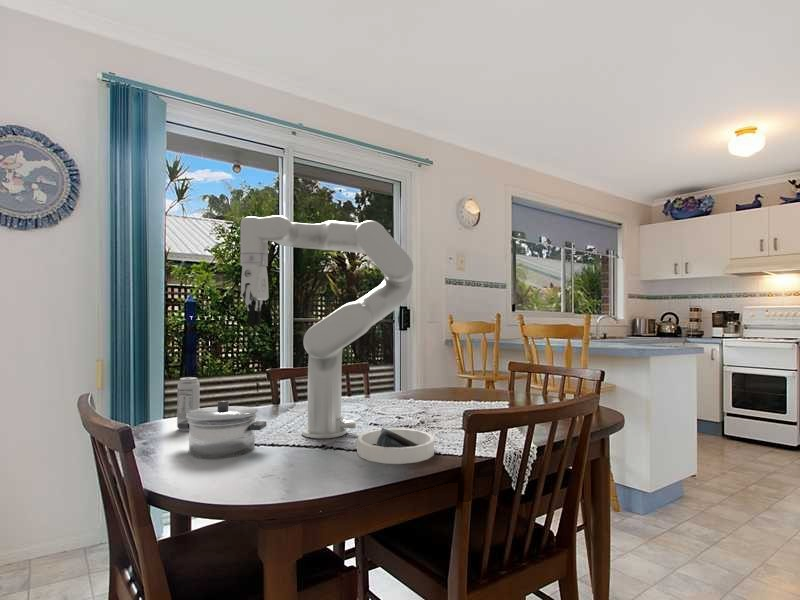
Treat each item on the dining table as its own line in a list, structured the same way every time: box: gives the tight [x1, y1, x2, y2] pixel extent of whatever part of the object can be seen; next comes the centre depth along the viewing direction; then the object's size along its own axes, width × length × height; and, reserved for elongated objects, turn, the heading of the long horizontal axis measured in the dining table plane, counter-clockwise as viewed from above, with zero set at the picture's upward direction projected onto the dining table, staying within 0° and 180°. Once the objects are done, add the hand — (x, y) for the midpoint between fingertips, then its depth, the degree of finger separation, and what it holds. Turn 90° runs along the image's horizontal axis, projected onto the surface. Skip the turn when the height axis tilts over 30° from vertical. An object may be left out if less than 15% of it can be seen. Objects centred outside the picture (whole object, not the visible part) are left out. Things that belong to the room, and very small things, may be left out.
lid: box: [186, 400, 259, 421], centre depth 127 cm, size 17×18×4 cm
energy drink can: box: [176, 376, 201, 432], centre depth 147 cm, size 6×6×15 cm
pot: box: [177, 415, 267, 460], centre depth 127 cm, size 21×18×8 cm
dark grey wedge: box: [375, 427, 419, 448], centre depth 122 cm, size 10×7×12 cm
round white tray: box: [356, 427, 435, 465], centre depth 124 cm, size 19×19×4 cm
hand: (254, 324), depth 142 cm, fingers closed
